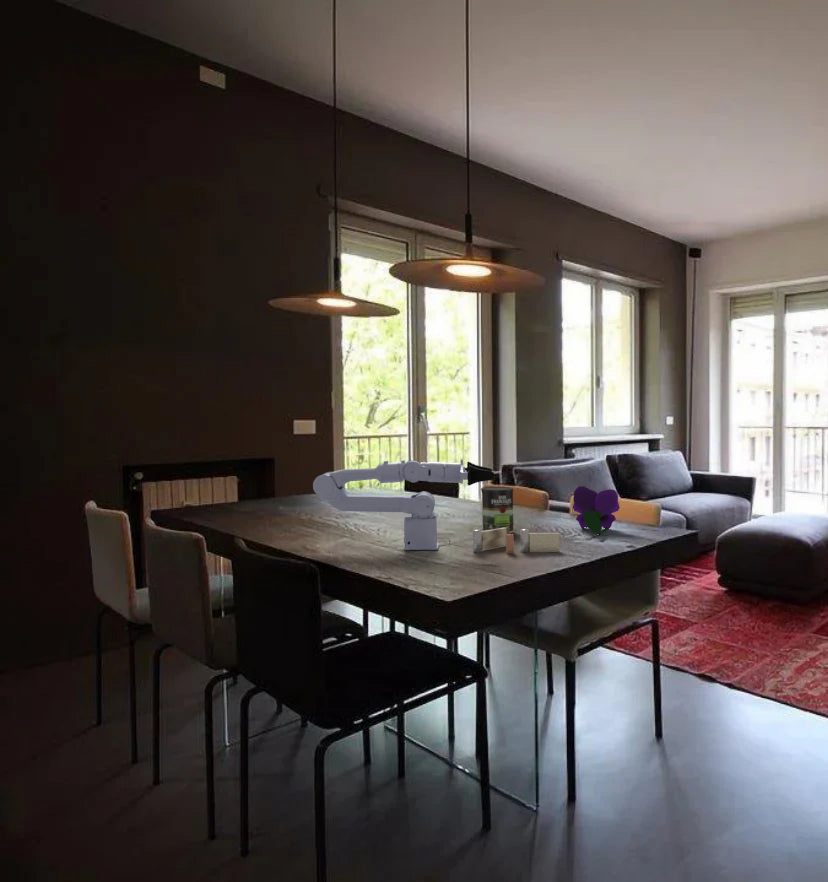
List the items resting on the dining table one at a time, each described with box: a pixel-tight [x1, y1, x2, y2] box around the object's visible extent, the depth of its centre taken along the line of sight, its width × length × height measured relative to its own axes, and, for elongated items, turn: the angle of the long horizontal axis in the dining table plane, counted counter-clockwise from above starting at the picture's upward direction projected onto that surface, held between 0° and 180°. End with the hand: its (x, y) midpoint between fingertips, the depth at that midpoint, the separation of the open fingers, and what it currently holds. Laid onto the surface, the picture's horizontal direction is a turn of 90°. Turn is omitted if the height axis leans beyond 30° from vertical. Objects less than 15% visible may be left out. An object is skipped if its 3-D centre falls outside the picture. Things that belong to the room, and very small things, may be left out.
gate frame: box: [472, 528, 560, 554], centre depth 175 cm, size 23×3×6 cm, turn 85°
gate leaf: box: [481, 527, 511, 551], centre depth 180 cm, size 10×2×5 cm, turn 125°
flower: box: [572, 485, 621, 536], centre depth 200 cm, size 15×15×14 cm
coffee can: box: [480, 486, 514, 534], centre depth 205 cm, size 10×10×14 cm
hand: (492, 474), depth 181 cm, fingers open, 7 cm apart
